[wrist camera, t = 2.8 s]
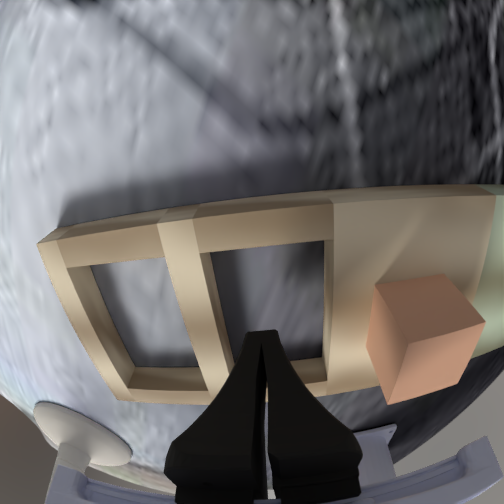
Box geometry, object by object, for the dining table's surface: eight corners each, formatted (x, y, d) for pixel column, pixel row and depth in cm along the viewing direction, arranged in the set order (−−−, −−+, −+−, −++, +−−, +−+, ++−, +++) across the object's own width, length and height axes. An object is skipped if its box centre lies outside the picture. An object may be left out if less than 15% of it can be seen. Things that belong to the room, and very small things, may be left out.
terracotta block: (427, 333, 14) (457, 383, 11) (365, 346, 14) (387, 404, 11) (443, 273, 13) (486, 321, 9) (374, 284, 13) (408, 343, 9)
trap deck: (505, 325, 17) (535, 362, 13) (125, 379, 19) (105, 433, 14) (543, 186, 12) (592, 213, 7) (56, 228, 14) (1, 273, 9)
